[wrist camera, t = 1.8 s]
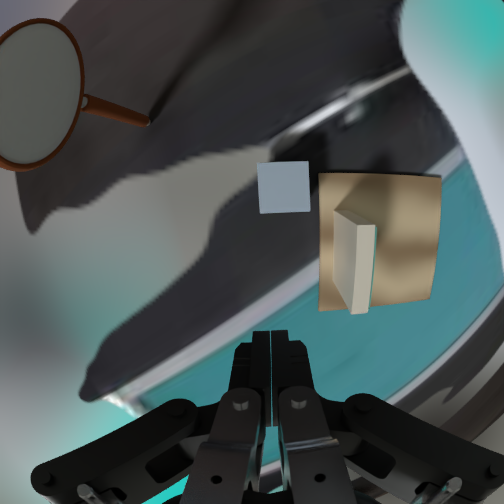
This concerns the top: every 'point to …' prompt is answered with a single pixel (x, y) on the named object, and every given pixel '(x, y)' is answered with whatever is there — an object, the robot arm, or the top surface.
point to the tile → (354, 259)
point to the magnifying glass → (44, 94)
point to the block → (283, 187)
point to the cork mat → (384, 233)
